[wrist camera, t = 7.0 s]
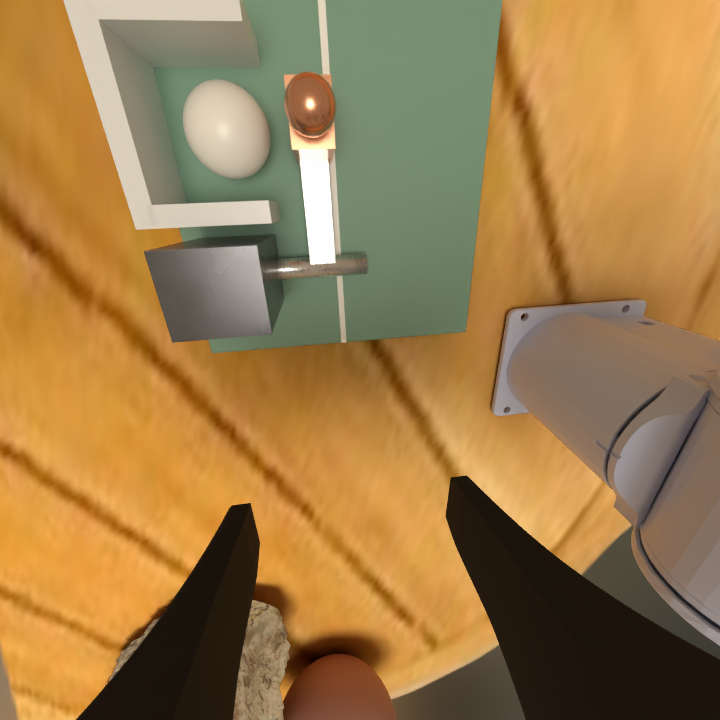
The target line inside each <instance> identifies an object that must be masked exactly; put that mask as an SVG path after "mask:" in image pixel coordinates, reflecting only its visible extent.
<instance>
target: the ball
mask: <svg viewBox="0 0 720 720" xmlns="http://www.w3.org/2000/svg"><path fill="white" fill-rule="evenodd" d="M183 127H184V132H185V136H186V139H187V141H188V144H189V146H190V148H191V150H192V151H193V153H194V154H195V156H196V157H197V158H198V159H199V161H200V162H201V163H202V164H203V165H204V166H206V167H207V168H208V169H209V170H211V171H212V172H214V173H216V174H218V175H220V176H222V177H225V178H230V179H243V178H246V177H249V176H252V175H253V174H255V173H256V172H257V171H259V170H260V169H261V167H262V166H263V165H264V163H265V162H266V159H267V157H268V154H269V150H270V130H269V126H268V122H267V119H266V117H265V115H264V112H263V110H262V109H261V107H260V106H259V104H258V103H257V101H256V100H255V99H254V98H253V97H252V96H251V95H250V94H249V93H248V92H247V91H246V90H245V89H243V88H242V87H240V86H238V85H236V84H234V83H232V82H229V81H226V80H220V79H213V80H208V81H205V82H203V83H201V84H199V85H198V86H196V87H195V88H194V89H193V90H192V91H191V92H190V94H189V96H188V97H187V99H186V102H185V105H184V109H183Z"/></svg>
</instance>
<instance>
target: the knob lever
mask: <svg viewBox="0 0 720 720" xmlns="http://www.w3.org/2000/svg"><path fill="white" fill-rule="evenodd" d="M284 82H285V95H284V108H285V112H286V116H287V118H288V120H289V127H290V136H291V145H292V151H293V154H294V156H295V159H296V161H297V164H301V174H302V184H303V194H304V203H305V213H306V223H307V233H308V243H309V252H310V257H301V258H283V259H279V257H278V250H277V243H276V236H275V234H271V235H251V236H231V237H211V238H197V239H193V240H189V241H185V242H181V243H177V244H173V245H168V246H164V247H160V248H156V249H152V250H148V251H144V254H145V257H146V260H147V263H148V266H149V270H150V273H151V276H152V279H153V282H154V285H155V289H156V292H157V295H158V298H159V301H160V304H161V308H162V311H163V314H164V317H165V320H166V323H167V327H168V330H169V333H170V336H171V339H172V342H184V341H196V340H209V339H222V338H234V337H247V336H259V335H272V333H273V330H274V327H275V324H276V321H277V318H278V315H279V312H280V310H281V307H282V304H283V301H284V292H283V285H282V279H298V278H314V277H329V276H345V275H361V274H367V272H368V262H367V255H366V254H353V255H336V256H335V252H334V238H333V223H332V209H331V195H330V180H329V166H328V164H331V161H332V158H333V155H334V152H335V149H336V146H335V129H334V120H335V117H336V99H335V95H334V92H333V90H332V80H331V74H317V73H315V72H310V71H306V72H301V73H299V74H288V75H284Z"/></svg>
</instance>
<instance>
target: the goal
mask: <svg viewBox="0 0 720 720" xmlns="http://www.w3.org/2000/svg"><path fill="white" fill-rule="evenodd" d="M64 4H65V7H66V10H67V13H68V16H69V19H70V22H71V26H72V29H73V32H74V35H75V38H76V41H77V45H78V48H79V51H80V54H81V57H82V60H83V64H84V67H85V70H86V73H87V76H88V79H89V83H90V86H91V89H92V92H93V95H94V98H95V101H96V105H97V108H98V111H99V114H100V117H101V120H102V124H103V127H104V130H105V133H106V136H107V139H108V143H109V146H110V149H111V152H112V155H113V158H114V161H115V165H116V168H117V171H118V174H119V177H120V180H121V184H122V187H123V190H124V193H125V196H126V199H127V203H128V206H129V209H130V212H131V215H132V218H133V222H134V225H135V228H136V230H138V229H159V228H181V227H202V226H224V225H246V224H267V223H274V222H278V221H281V218H280V211H279V203H278V202H274V201H269V200H265V201H240V202H215V203H189V204H187V203H186V199H185V195H184V191H183V187H182V183H181V179H180V175H179V171H178V167H177V163H176V158H175V154H174V150H173V146H172V142H171V138H170V134H169V130H168V126H167V122H166V118H165V114H164V109H163V105H162V101H161V97H160V93H159V89H158V85H157V81H156V77H155V73H154V69H153V68H155V67H156V68H157V67H158V68H166V67H167V68H260V61H259V54H258V46H257V41H256V38H255V35H254V32H253V29H252V26H251V23H250V20H249V18H248V15H247V12H246V9H245V6H244V3H243V0H64Z"/></svg>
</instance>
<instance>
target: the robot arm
mask: <svg viewBox="0 0 720 720" xmlns="http://www.w3.org/2000/svg"><path fill="white" fill-rule="evenodd" d="M646 305H647V304H646V302H645V301H644V300H640V299H632V300H619V301H606V302H593V303H580V304H567V305H554V306H541V307H528V308H516V309H512V310H511V311H510V312H509V313H508V315H507V318H506V324H505V330H504V336H503V342H502V348H501V354H500V360H499V366H498V372H497V378H496V384H495V390H494V396H493V403H492V412H493V413H494V415H496V416H503V415H512V414H521V413H532V414H533V415H534V416H535V417H536V418H537V419H538V420H539V421H540V422H541V423H542V424H543V425H544V426H545V427H546V428H547V429H549V430H550V431H551V432H552V433H553V434H554V435H555V436H556V437H557V438H558V439H559V440H560V441H561V442H562V443H563V444H564V445H566V446H567V447H568V448H569V449H570V450H571V451H572V452H573V453H574V454H575V455H576V456H577V457H578V458H579V459H580V460H581V461H582V462H584V463H585V464H586V465H587V466H588V467H589V468H590V469H591V470H592V471H593V472H594V473H595V474H596V475H597V476H598V477H599V478H601V479H602V480H603V481H604V482H605V483H606V484H607V485H608V486H609V487H610V488H611V489H613V490H614V492H615V494H616V501H615V504H614V507H615V508H616V509H617V510H618V511H619V512H620V513H621V514H622V515H623V516H624V517H625V518H626V519H627V520H628V521H629V522H630V523H631V524H632V525H633V526H634V529H633V532H632V541H631V545H632V549H633V554H634V556H635V559H636V561H637V563H638V565H639V567H640V569H641V571H642V572H643V574H644V575H645V577H646V579H647V580H648V581H649V582H650V584H651V585H652V586H653V588H654V589H655V590H656V591H657V592H658V594H659V595H660V596H661V597H662V598H663V599H664V600H665V601H666V602H667V603H668V604H669V605H670V606H671V607H672V608H673V609H674V610H675V611H676V612H677V613H678V614H679V615H680V616H681V617H683V618H684V619H685V620H686V621H687V622H689V623H690V624H691V625H692V626H693V627H695V628H696V629H698V630H699V631H700V632H701V633H702V634H704V635H705V636H706V637H708V638H709V639H711V640H712V641H714V642H715V643H717V644H718V645H720V341H719V340H716V339H713V338H710V337H707V336H703V335H700V334H697V333H694V332H691V331H688V330H685V329H682V328H679V327H676V326H673V325H669V324H666V323H663V322H660V321H657V320H654V319H651V318H648V317H645V316H643V315H644V312H645V309H646ZM623 307H624V309H623ZM622 309H623V310H622ZM524 313H525V316H524V318H523V319H521V316H522V315H523V314H524ZM506 407H507V408H506ZM505 408H506V409H505ZM504 409H505V410H504ZM446 519H447V522H448V525H449V528H450V531H451V534H452V537H453V540H454V542H455V545H456V547H457V550H458V552H459V554H460V556H461V559H462V561H463V563H464V565H465V567H466V569H467V572H468V574H469V576H470V578H471V580H472V582H473V584H474V587H475V589H476V591H477V593H478V595H479V597H480V599H481V602H482V604H483V606H484V608H485V610H486V612H487V615H488V617H489V619H490V622H491V624H492V626H493V629H494V632H495V634H496V637H497V640H498V642H499V645H500V648H501V650H502V653H503V656H504V658H505V661H506V664H507V666H508V669H509V672H510V675H511V678H512V681H513V684H514V686H515V689H516V692H517V695H518V698H519V700H520V703H521V706H522V709H523V712H524V715H525V718H526V720H720V660H719V659H718V658H716V657H714V656H712V655H710V654H708V653H707V652H705V651H703V650H701V649H699V648H697V647H696V646H694V645H692V644H690V643H688V642H686V641H685V640H683V639H681V638H679V637H677V636H676V635H674V634H672V633H670V632H668V631H667V630H665V629H663V628H662V627H660V626H659V625H657V624H655V623H654V622H652V621H650V620H649V619H647V618H645V617H644V616H642V615H640V614H639V613H637V612H635V611H634V610H632V609H631V608H629V607H628V606H626V605H624V604H623V603H621V602H620V601H618V600H617V599H615V598H614V597H612V596H611V595H609V594H608V593H606V592H605V591H603V590H602V589H600V588H599V587H597V586H596V585H594V584H593V583H591V582H590V581H588V580H587V579H586V578H584V577H583V576H582V575H580V574H579V573H577V572H576V571H575V570H573V569H572V568H571V567H569V566H568V565H567V564H565V563H564V562H563V561H561V560H560V559H559V558H557V557H556V556H555V555H554V554H552V553H551V552H550V551H549V550H547V549H546V548H545V547H544V546H543V545H541V544H540V543H539V542H538V541H537V540H535V539H534V538H533V537H532V536H531V535H530V534H528V533H527V532H526V531H525V530H524V529H523V528H522V527H520V526H519V525H518V524H517V523H516V522H515V521H514V520H513V519H512V518H510V517H509V516H508V515H507V514H506V513H505V512H504V511H503V510H502V509H501V508H500V507H499V506H498V505H497V504H495V503H494V502H493V501H492V500H491V499H490V498H489V497H488V496H487V495H486V494H485V493H484V492H483V491H482V490H481V489H480V488H479V487H478V486H477V485H476V484H475V483H474V482H473V481H472V480H471V479H470V478H469V477H468V476H459V477H451V480H450V487H449V495H448V502H447V510H446ZM259 547H260V541H259V537H258V533H257V528H256V524H255V520H254V516H253V512H252V508H251V503H248V504H240V505H232V506H231V507H230V508H229V510H228V512H227V514H226V516H225V517H224V519H223V521H222V523H221V525H220V526H219V528H218V530H217V532H216V533H215V535H214V537H213V538H212V540H211V542H210V543H209V545H208V547H207V548H206V550H205V552H204V553H203V555H202V556H201V558H200V560H199V561H198V563H197V564H196V566H195V568H194V569H193V571H192V572H191V574H190V575H189V577H188V578H187V580H186V581H185V583H184V584H183V586H182V587H181V589H180V590H179V592H178V593H177V594H176V596H175V597H174V599H173V600H172V602H171V603H170V605H169V606H168V607H167V609H166V610H165V612H164V613H163V614H162V616H161V617H160V618H159V620H158V621H157V623H156V624H155V625H154V627H153V628H152V629H151V630H150V632H149V633H148V634H147V636H146V637H145V638H144V640H143V641H142V642H141V643H140V645H139V646H138V647H137V649H136V650H135V651H134V652H133V654H132V655H131V656H130V657H129V658H128V660H127V661H126V662H125V663H124V665H123V666H122V667H121V668H120V669H119V671H118V672H117V673H116V674H115V676H114V677H113V678H112V679H111V680H110V682H109V683H108V684H107V685H106V686H105V687H104V689H103V690H102V691H101V692H100V693H99V694H98V696H97V697H96V698H95V699H94V700H93V701H92V702H91V704H90V705H89V706H88V707H87V708H86V709H85V710H84V711H83V712H82V714H81V715H80V716H79V717H78V718H77V719H76V720H233V716H234V707H235V698H236V690H237V681H238V674H239V668H240V661H241V656H242V650H243V645H244V640H245V635H246V630H247V625H248V620H249V614H250V609H251V604H252V599H253V594H254V588H255V583H256V578H257V569H258V559H259Z"/></svg>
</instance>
